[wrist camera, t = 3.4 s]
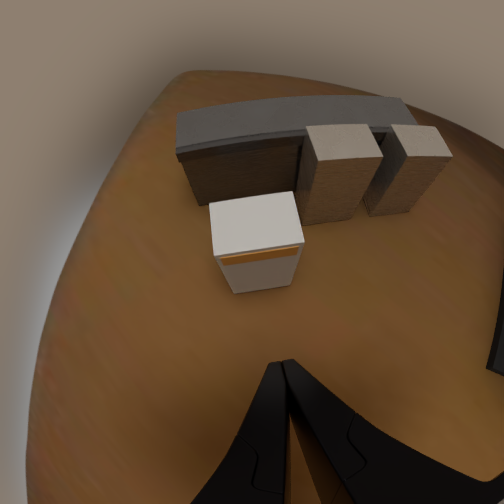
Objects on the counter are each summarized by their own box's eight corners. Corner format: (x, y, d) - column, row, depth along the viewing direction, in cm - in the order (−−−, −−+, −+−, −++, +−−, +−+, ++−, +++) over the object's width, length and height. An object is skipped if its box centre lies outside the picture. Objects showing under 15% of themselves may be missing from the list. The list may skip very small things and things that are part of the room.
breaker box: (408, 211, 24) (452, 156, 16) (201, 240, 24) (170, 182, 16) (382, 151, 27) (410, 90, 19) (197, 171, 27) (174, 103, 18)
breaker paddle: (290, 285, 22) (304, 243, 14) (233, 294, 22) (213, 256, 14) (283, 249, 23) (292, 190, 15) (229, 257, 23) (209, 202, 15)
